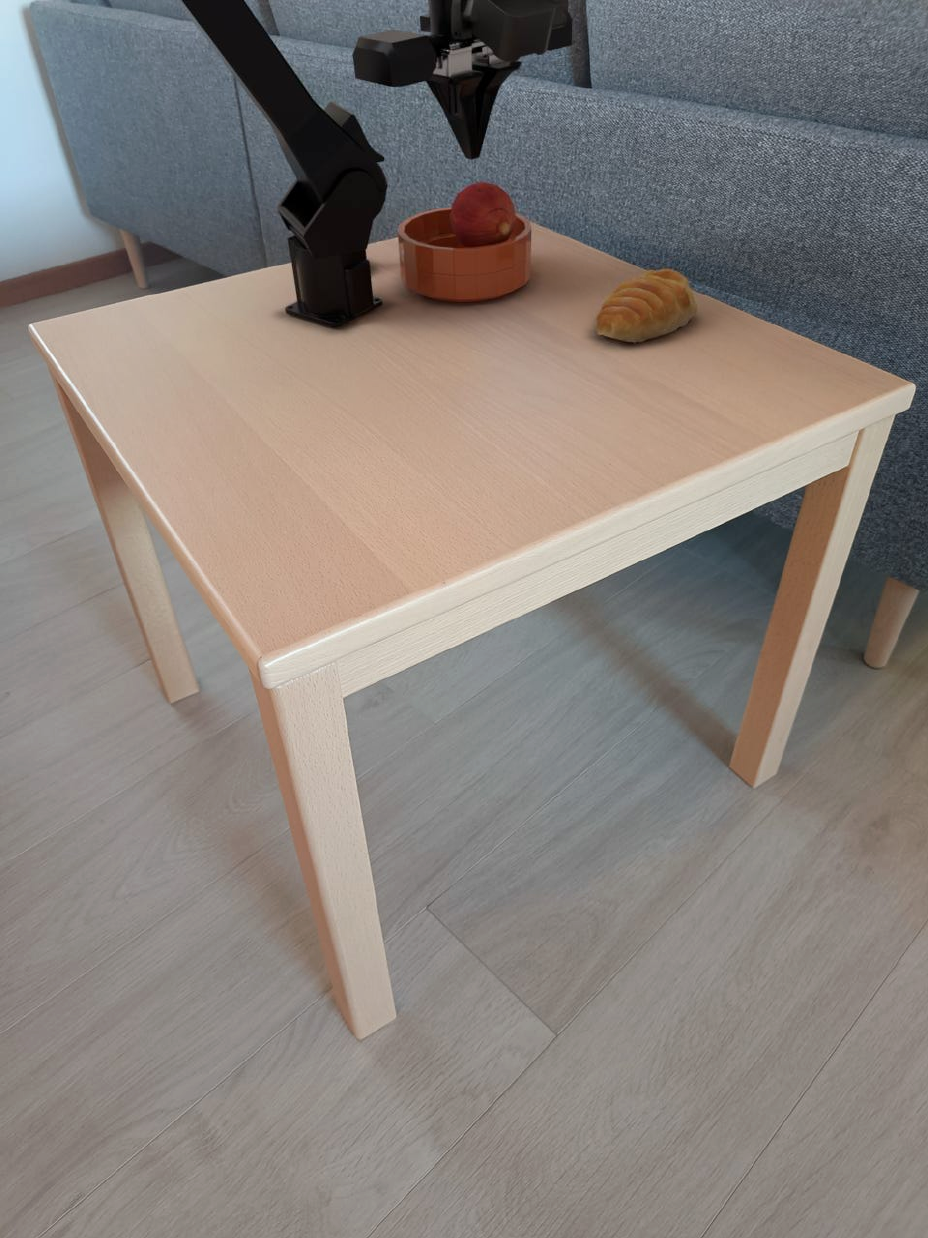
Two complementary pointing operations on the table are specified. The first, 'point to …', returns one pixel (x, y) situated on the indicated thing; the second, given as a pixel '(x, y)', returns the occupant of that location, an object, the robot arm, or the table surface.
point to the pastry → (647, 307)
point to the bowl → (461, 260)
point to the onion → (482, 215)
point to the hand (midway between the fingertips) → (472, 157)
